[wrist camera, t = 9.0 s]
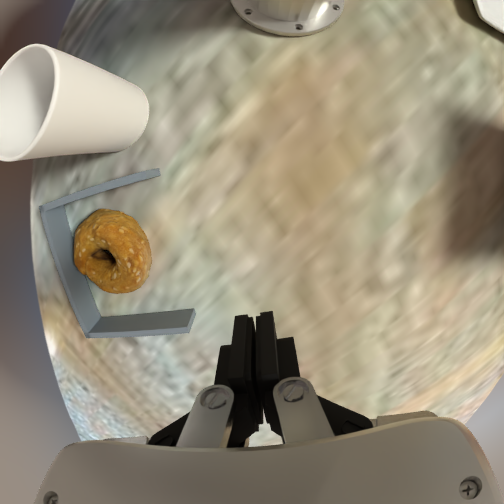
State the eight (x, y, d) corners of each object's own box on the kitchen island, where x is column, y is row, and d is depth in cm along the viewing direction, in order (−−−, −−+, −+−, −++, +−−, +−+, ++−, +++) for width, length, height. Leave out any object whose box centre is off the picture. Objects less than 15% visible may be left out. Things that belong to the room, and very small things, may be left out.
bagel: (87, 194, 29) (65, 201, 25) (167, 225, 30) (153, 237, 26) (76, 265, 32) (56, 280, 28) (147, 298, 33) (133, 318, 29)
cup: (157, 136, 27) (65, 126, 12) (95, 162, 28) (-9, 181, 13) (141, 71, 24) (54, 21, 9) (81, 100, 25) (-19, 85, 10)
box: (58, 200, 29) (38, 206, 25) (158, 168, 28) (145, 170, 24) (99, 322, 35) (86, 338, 31) (195, 314, 34) (189, 332, 30)
